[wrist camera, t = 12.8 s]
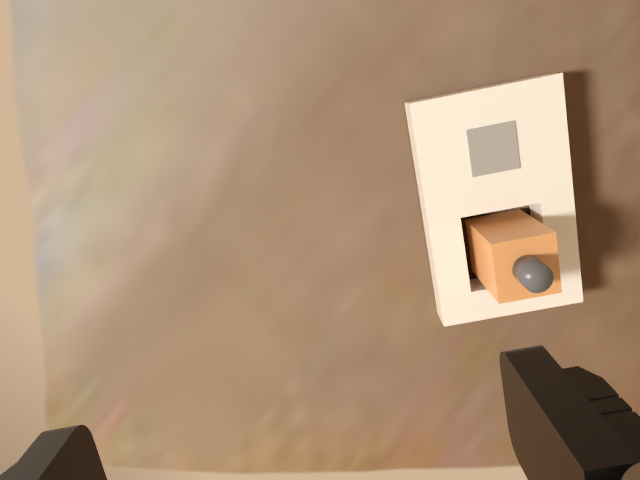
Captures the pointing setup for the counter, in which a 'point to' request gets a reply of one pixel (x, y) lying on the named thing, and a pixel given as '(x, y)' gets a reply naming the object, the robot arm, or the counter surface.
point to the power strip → (493, 183)
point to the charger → (514, 255)
